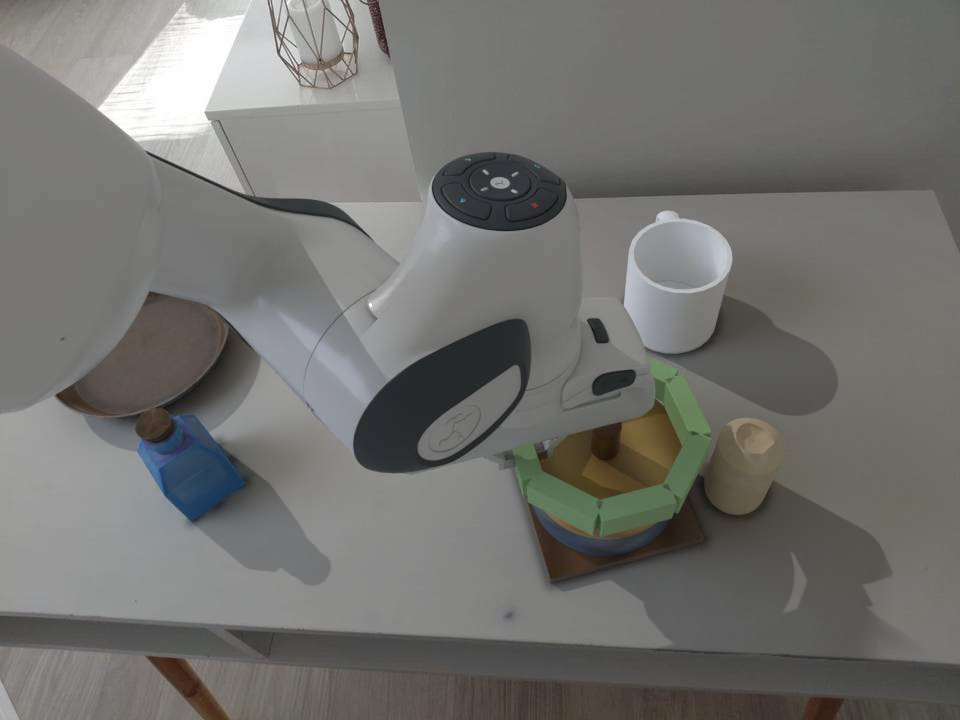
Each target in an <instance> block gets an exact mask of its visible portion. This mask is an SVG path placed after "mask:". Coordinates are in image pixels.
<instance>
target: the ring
mask: <svg viewBox="0 0 960 720" xmlns="http://www.w3.org/2000/svg"><path fill="white" fill-rule="evenodd" d="M648 359H649V363H650V367H651V369H650V371H651V373H652V376H653V378H654V381H655V399H656V400H657V401H659V402H660V401H661V402H662V403H661V404H662V405H663V406H664V407H665V409H666V412H667V414H668V416H669V418H670V420H671V423H672V425H673V427H674V429H675V431H676V434H677V436H678V438H679V440H680V442H681V445H682V448H681V450H680V452H679V454H678V456H677V458H676V460H675V462H674V463H673V465H672V467H671V469H670V471H669V473H668V475H667V477H666V479H665V481H664V483H663V484H659V485H656V486H652V487H648V488H644V489H640V490H636V491H632V492H628V493H624V494H621V495H617V496H613V497H609V498H605V499H601V500H600V499H598V498H596V497H594V496H592V495H590V494H588V493H586V492H584V491H582V490H580V489H578V488H576V487H574V486H572V485H570V484H568V483H566V482H564V481H562V480H560V479H558V478H556V477H554V476H552V475H550V474H548V473H546V472H544V471H542V468H541V465H540V462H539V459H538V456H537V453H536V450H535V446H534V444H531V445H527V446H524V447H520V448H516V449H512V451H513V454H514V457H515V465H516V466H515V467H513V468H514V471H515V472H514V473H515V474H516V477H517V481H518V485H519V488H520V491H521V494H522V497H524V496H527V498H528V502H529V503H531V504H533V505H534V506H536V507H538V508H540V509H542V510H544V511H546V512H548V513H550V514H552V515H554V516H555V517H557V518H559V519H561V520H563V521H565V522H567V523H569V524H571V525H573V526H575V527H576V528H578V529H580V530H582V531H584V532H586V533H588V534H590V535H592V536H593V535H594V533H595V531H596V530H597V528H598V531H599V534H600V536H601V537H603V536H607V535H611V534H614V533H618V532H622V531H626V530H630V529H634V528H637V527H641V526H645V525H649V524H653V523H657V522H660V521H664V520H668V519H672V517H673V513H674V512H675V513H677V514H678V513H679V511H680V509H681V507H682V505H683V503H684V501H685V499H686V497H687V498H688V495H689V493H690V491H691V488H692V487H693V485H694V482H695V481H696V479H697V476H698V474H699V472H700V470H701V469H702V467H703V464H704V463H705V460H706V458H707V457H708V453H709V450H710V449H711V448H710V447H711V446H712V445H711V444H712V441H713V438H712V434H713V431H712V429H711V426H710V425H709V423H708V421H707V419H706V417H705V415H704V412H703V411H702V408H701V406H700V404H699V402H698V400H697V398H696V395H695V394H694V392H693V390H692V388H691V386H690V383H689V382H688V379H687V378H686V375H685V374H684V373H683V374H682V373H681V374H679V371H680V370H679V368H678V367H674V366H672V365H671V364H667V363H665V362H663V361H660V360H657V359H655V358H653V357H651V356H648Z"/></svg>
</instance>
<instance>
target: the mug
mask: <svg viewBox="0 0 960 720" xmlns="http://www.w3.org/2000/svg"><path fill="white" fill-rule="evenodd" d="M732 265H733V252H732V248H731V246H730V244H729V242H728V240H727V239H726V238H725V236H723V235H722V234H721V233H720V231H718V230H716V229H715V228H713V227H712V226H710V225H708V224H706V223H703V222H700V221H698V220H695V219H694V220H693V219H688V218H680V215H679V213H678V212H676V211H673V210H663V211H659V213H658V214H656V217H655V222H653V223H651V224H647V225H646V226H645V227H644V228H642V229H641V230H640V231H638V232H637V233H636V235H635V236H634V237H633V239H632V240H631V243H630V246H629V249H628V256H627V268H626V279H625V287H624V299H623V305H624V307H625V308H626V310H627V312H628V313H629V315H630V317H631V318H632V320H633V322H634V324H635V326H636V328H637V330H638V332H639V334H640V337H641V339H642V342H643V344H644V347H645V349H649V350H651V351H653V352H657V353H661V354H665V355H666V354H667V355H669V354H671V355H672V354H673V355H678V354H683V353H689V352H691V351H694V350H696V349H698V348H700V347H702V346H703V345H704V344H705V343H707V342H708V341H709V340H710V338H711V336H712V335H713V333H714V332H715V329H716V326H717V322H718V318H719V314H720V310H721V306H722V302H723V300H724V299H723V298H724V294H725V291H726V287H727V285H728V279H729V275H730V271H731V267H732Z"/></svg>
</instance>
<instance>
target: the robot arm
mask: <svg viewBox="0 0 960 720" xmlns="http://www.w3.org/2000/svg"><path fill="white" fill-rule="evenodd" d="M421 223H422V224H421V226H420V228H419V230H418V232H417V234H416V236H415V238H414V240H413V242H412V244H411V246H410V248H409V249H408V251H407V252H406V254H405V256H404V258H402V260H401V262H400V261H398V260H397V259H396V258H395V257H393V256H392V255H391V254H389V252H387V251H386V250H384V249H383V248H382V247H381V246H380V245H379V244H378V243H376V242H375V240H374V239H373V238H372V237H371V236H370V235H369V234H368V233H367V232H366V231H365V230H364V229H363V228H362V227H361V226H360V225H359V224H358V223H357V222H356V220H355V219H353V218H352V217H351V216H350V215H349V214H348V213H347V212H346V211H344V209H341V208H340V207H338V206H336V205H334V204H332V203H329V202H327V201H324V200H320V199H313V198H297V197H295V198H293V197H291V198H289V197H285V198H283V197H262V196H256V195H250V194H246V193H244V192H243V193H242V192H240V191H238V190H235V189H232V188H230V187H227V186H225V185H223V184H220V183H219V182H216V181H215V180H212V179H210V178H208V177H206V176H203V175H200V174H198V173H196V172H194V171H192V170H190V169H187V168H185V167H183V166H180V165H179V164H176V163H174V162H172V161H170V160H167V159H165V158H163V157H161V156H159V155H157V154H154V153H152V152H151V151H148V150H146V149H144V147H142V145H140V143H138V142H137V140H135V139H134V138H133V137H132V136H130V135H129V134H128V133H127V132H126V131H125V130H123V129H122V128H121V127H120V126H119V125H117V124H116V123H115V122H114V121H113V120H112V119H110V118H109V117H108V116H107V115H105V114H104V113H103V112H102V111H100V110H99V109H98V108H96V106H94V105H93V104H92V103H90V102H89V101H87V100H86V99H85V98H83V96H81V95H79V93H77V92H75V91H74V90H72V89H71V88H70V87H68V86H66V85H65V84H64V83H63V82H61V81H60V80H58V79H57V78H55V77H54V76H52V75H51V74H49V73H48V72H46V71H45V70H44V69H42V68H41V67H38V66H37V65H35V64H34V63H33V62H32V61H29V60H28V59H26V58H25V57H23V56H22V55H21V54H19V53H18V52H16V51H14V50H12V49H11V48H9V47H8V46H6V45H5V44H3V43H1V42H0V415H6V414H7V415H8V414H14V413H18V412H22V411H25V410H28V409H29V408H32V407H33V406H36V405H38V404H40V403H42V402H44V401H46V400H49V399H50V398H52V397H54V395H56V394H57V393H59V392H61V391H63V390H64V389H66V388H68V387H69V386H71V385H72V384H74V383H75V382H77V381H78V380H79V379H81V378H82V377H84V376H85V375H86V374H88V373H89V372H90V371H91V370H92V369H94V368H95V367H96V366H97V365H98V364H99V363H100V362H101V361H102V360H103V359H104V358H106V357H107V356H108V355H109V353H110V352H111V351H112V350H113V349H114V348H115V346H116V345H117V344H118V343H119V341H120V340H121V339H122V338H123V336H124V335H125V334H126V332H127V331H128V329H129V328H130V326H131V325H132V323H133V322H134V320H135V318H136V317H137V315H138V313H139V311H140V310H141V308H142V306H143V304H144V302H145V300H146V298H147V295H148V293H149V291H151V292H155V293H160V294H164V295H169V296H173V297H177V298H182V299H186V300H190V301H195V302H199V303H202V304H205V305H207V306H209V307H211V308H213V310H214V311H215V312H216V313H217V315H218V316H219V317H220V318H221V320H222V321H223V322H224V323H225V324H226V325H227V326H228V327H229V330H231V331H232V332H233V333H234V334H235V335H236V336H237V337H238V338H239V339H240V340H241V341H242V342H243V343H244V344H245V345H247V346H248V347H249V348H250V349H252V350H253V351H255V352H256V354H257V355H258V356H259V357H260V359H262V360H263V361H264V362H265V363H266V364H267V365H268V366H269V367H270V368H271V370H272V371H273V372H274V373H275V374H276V375H277V376H278V377H279V378H280V379H281V380H282V382H283V383H284V384H286V386H287V387H288V388H289V389H290V391H292V392H293V393H294V394H295V395H296V397H297V398H299V400H300V401H301V402H302V403H303V404H304V405H305V407H307V409H309V411H310V412H311V413H312V415H313V416H314V417H315V418H316V419H317V420H318V421H319V422H320V424H322V426H324V427H325V428H326V430H327V431H328V432H329V433H330V434H331V435H332V436H333V437H334V438H335V439H336V440H337V441H338V442H339V444H341V445H342V447H344V449H345V450H347V451H348V453H349V454H350V455H352V457H353V458H355V460H356V461H357V462H358V464H359V465H360V466H362V467H363V468H364V469H366V470H368V471H372V472H377V473H383V474H404V475H409V476H413V475H417V474H422V473H426V472H429V471H433V470H437V469H441V468H445V467H448V466H452V465H457V464H460V463H464V462H468V461H472V460H476V459H480V458H483V459H486V460H488V461H490V462H493V463H495V464H496V465H497V469H498V471H499V472H500V471H504V470H507V469H511V468H514V467H515V466H516V465H515V457H514V454H513V451H512V449H516V448H520V447H524V446H527V445H531V444H534V446H535V450H536V453H537V456H538V459H539V460H542V459H546V458H551V457H553V448H555V447H556V446H557V445H558V444H560V443H561V442H562V441H563V440H564V439H565V438H566V437H567V435H571V434H575V433H578V432H582V431H586V430H590V429H594V428H598V427H602V426H606V425H610V424H614V423H618V422H622V421H626V420H630V419H634V418H638V417H641V416H643V415H644V414H646V413H647V412H648V411H649V410H651V409H652V408H653V406H654V402H655V399H656V398H655V381H654V378H653V376H652V373H651V371H650V369H651V367H650V363H649V359H648V357H649V356H648V353H647V349H646V347H644V344H643V342H642V339H641V337H640V334H639V332H638V330H637V328H636V326H635V324H634V322H633V320H632V318H631V317H630V315H629V313H628V312H627V310H626V308H625V307H624V303H623V302H622V301H621V299H620V298H618V297H611V296H603V297H601V296H600V297H584V280H585V258H584V257H585V255H584V254H585V252H584V237H583V229H582V223H581V218H580V214H579V210H578V206H577V204H576V201H575V198H574V195H573V193H572V191H571V190H570V189H569V186H568V185H567V183H566V182H565V181H564V179H562V178H561V177H560V176H558V175H557V174H556V173H555V172H553V171H552V170H550V169H549V168H547V167H545V166H544V165H542V164H540V163H539V162H536V161H535V160H532V159H530V158H528V157H526V156H523V155H519V154H515V153H509V152H503V151H483V152H475V153H469V154H465V155H462V156H458V157H457V158H454V159H452V160H450V161H448V162H447V163H445V164H443V165H442V166H441V167H440V168H439V169H438V170H437V171H436V172H435V174H434V175H433V177H432V178H431V180H430V183H429V186H428V191H427V196H426V205H425V213H424V217H423V220H422V222H421Z"/></svg>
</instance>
